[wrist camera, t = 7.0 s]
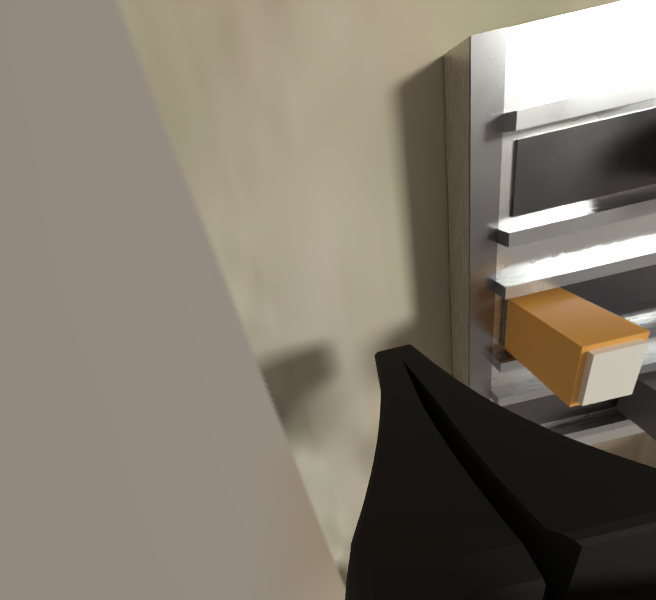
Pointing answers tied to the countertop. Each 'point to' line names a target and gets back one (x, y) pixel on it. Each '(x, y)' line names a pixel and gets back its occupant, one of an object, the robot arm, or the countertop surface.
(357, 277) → the countertop surface
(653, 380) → the block
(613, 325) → the block
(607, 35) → the panel
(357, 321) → the countertop surface
